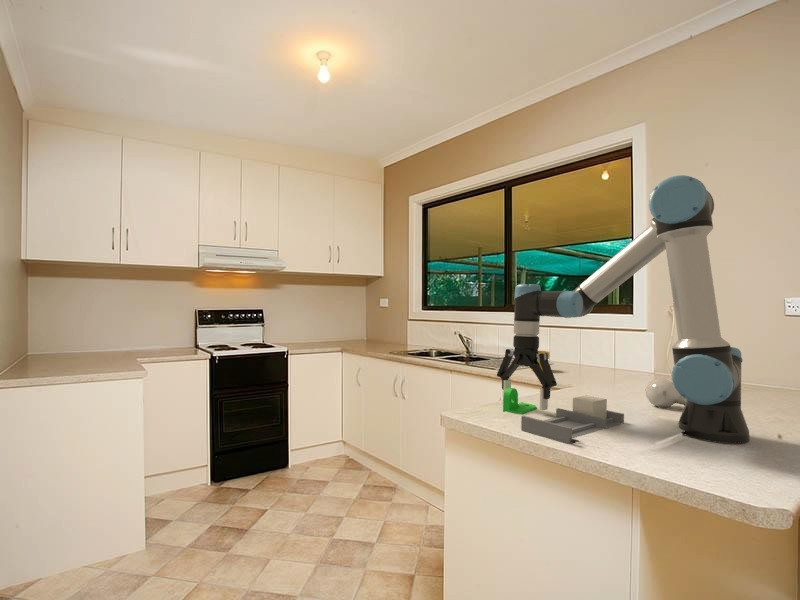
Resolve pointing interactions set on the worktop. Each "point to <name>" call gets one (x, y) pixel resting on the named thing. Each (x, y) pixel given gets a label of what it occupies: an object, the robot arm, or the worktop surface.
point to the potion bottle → (663, 393)
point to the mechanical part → (515, 402)
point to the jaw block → (590, 406)
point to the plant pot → (540, 353)
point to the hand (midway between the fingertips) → (524, 405)
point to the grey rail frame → (569, 424)
